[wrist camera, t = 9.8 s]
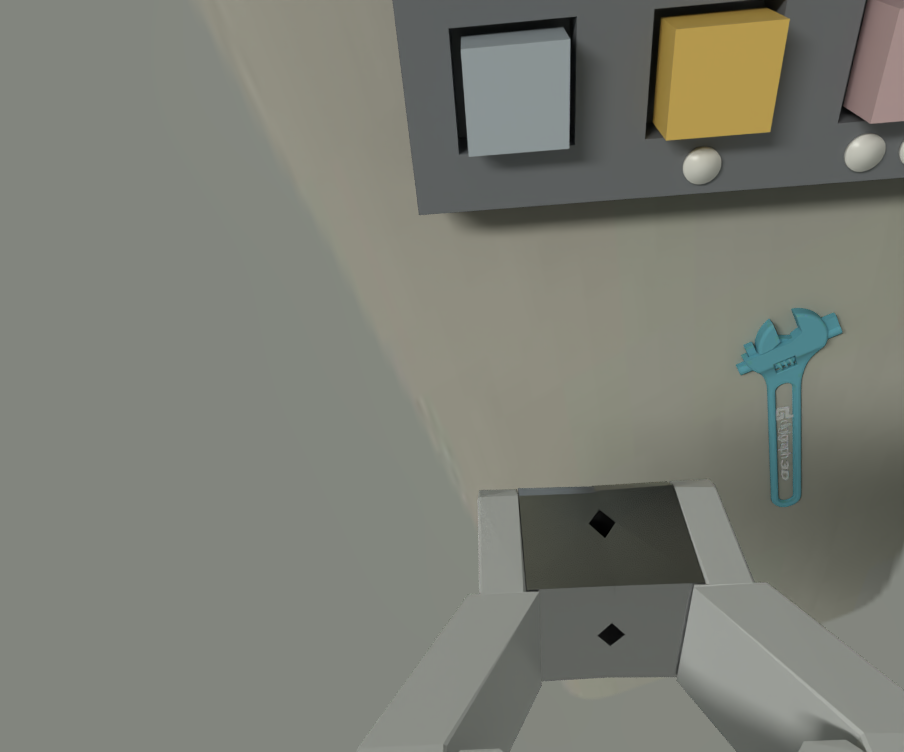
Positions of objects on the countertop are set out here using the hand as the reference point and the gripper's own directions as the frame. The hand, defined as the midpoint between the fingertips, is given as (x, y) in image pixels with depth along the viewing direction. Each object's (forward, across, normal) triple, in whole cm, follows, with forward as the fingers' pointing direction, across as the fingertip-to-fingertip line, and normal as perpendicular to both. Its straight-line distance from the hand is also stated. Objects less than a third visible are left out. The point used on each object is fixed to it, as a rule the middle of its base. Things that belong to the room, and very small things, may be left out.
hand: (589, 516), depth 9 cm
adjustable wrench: (+24, -14, +18) cm, 33 cm away
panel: (+23, -7, 0) cm, 24 cm away
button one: (+21, -7, 0) cm, 22 cm away
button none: (+21, 0, 0) cm, 21 cm away
